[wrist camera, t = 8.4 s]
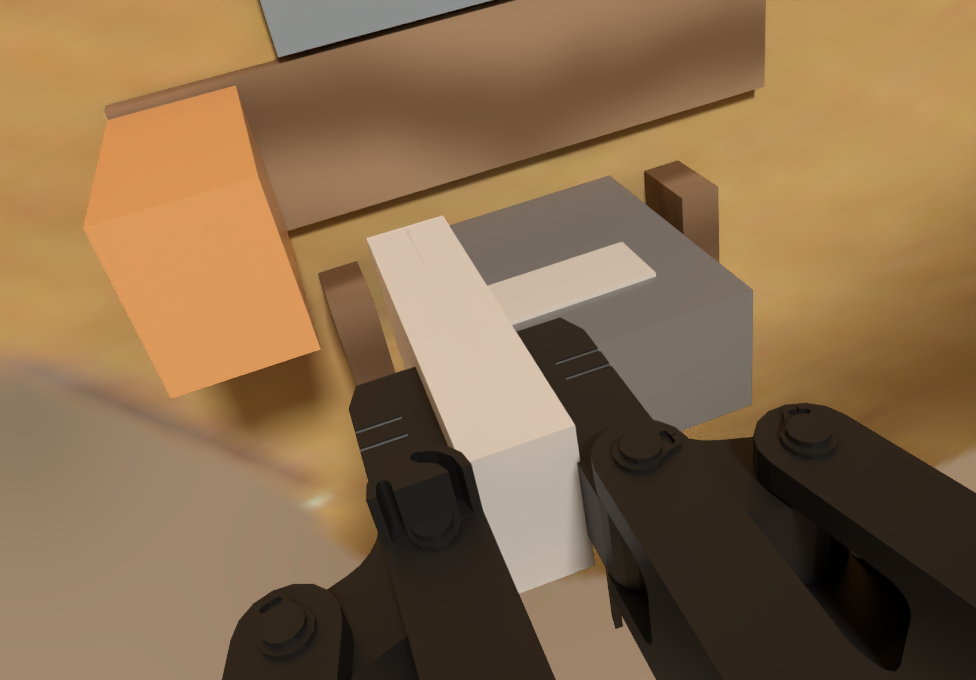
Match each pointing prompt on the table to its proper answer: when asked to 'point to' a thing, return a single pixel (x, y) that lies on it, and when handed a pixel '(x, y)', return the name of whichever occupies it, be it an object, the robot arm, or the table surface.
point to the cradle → (482, 111)
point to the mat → (343, 19)
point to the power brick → (623, 294)
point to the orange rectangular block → (197, 242)
